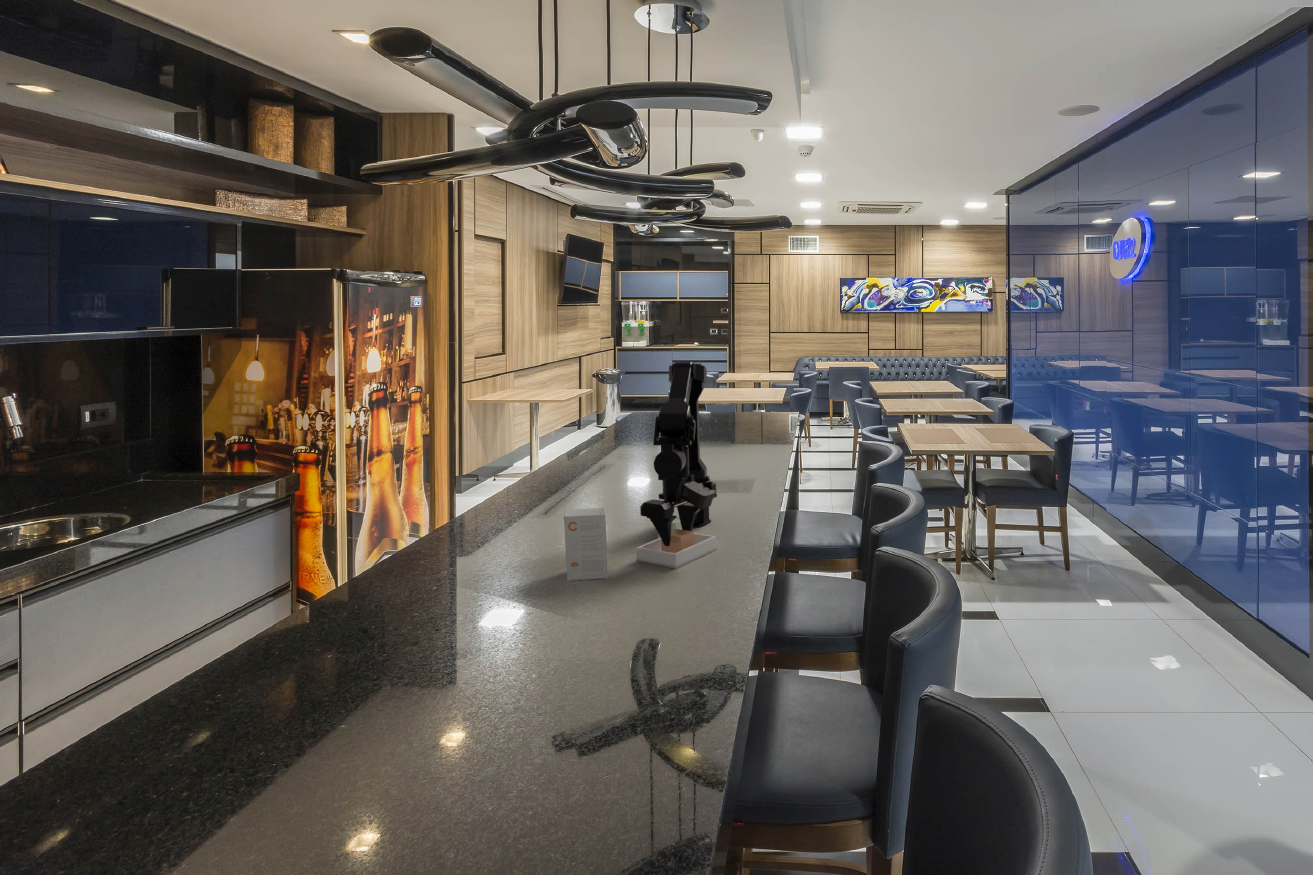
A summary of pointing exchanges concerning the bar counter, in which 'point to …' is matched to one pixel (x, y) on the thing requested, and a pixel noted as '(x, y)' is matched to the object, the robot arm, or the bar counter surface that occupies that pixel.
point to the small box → (585, 544)
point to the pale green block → (675, 524)
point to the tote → (656, 556)
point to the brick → (679, 541)
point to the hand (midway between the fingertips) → (677, 541)
